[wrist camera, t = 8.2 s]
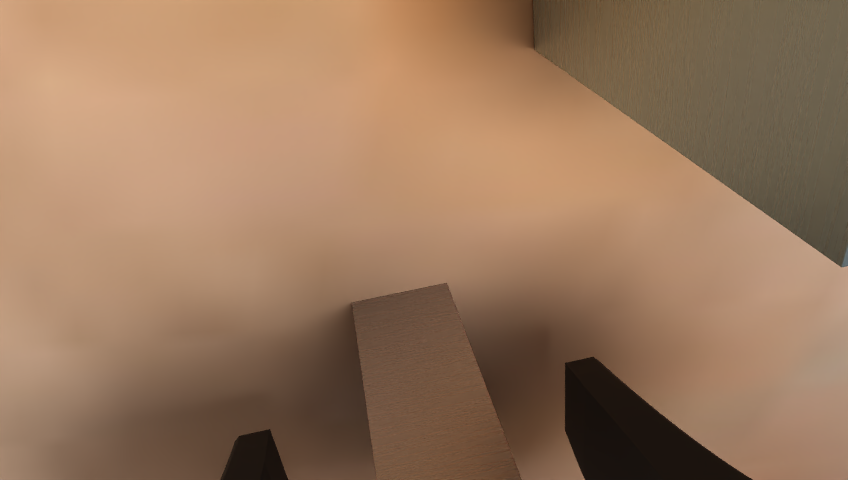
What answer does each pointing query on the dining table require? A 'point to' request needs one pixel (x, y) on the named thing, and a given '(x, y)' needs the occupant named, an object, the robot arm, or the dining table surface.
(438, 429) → the grey tall block
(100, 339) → the dining table surface
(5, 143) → the dining table surface
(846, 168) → the toaster
